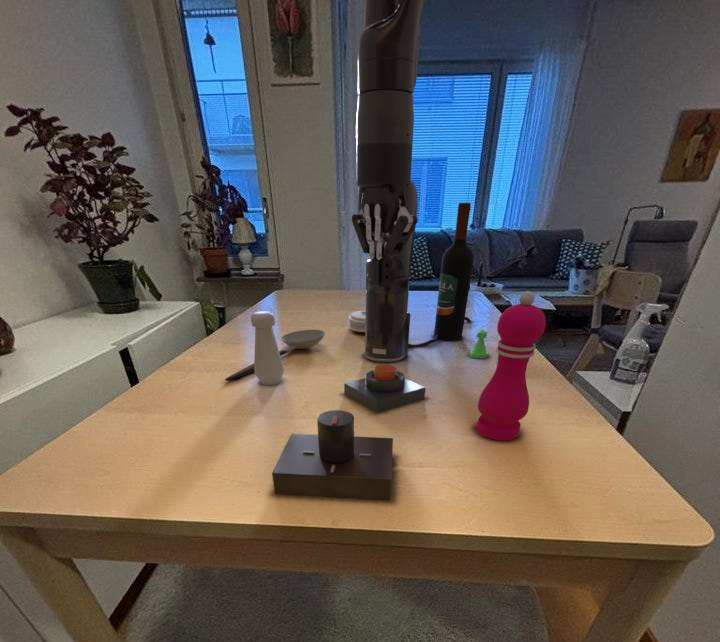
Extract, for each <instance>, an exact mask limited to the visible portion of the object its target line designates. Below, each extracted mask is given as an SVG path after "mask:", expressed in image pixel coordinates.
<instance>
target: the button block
mask: <svg viewBox="0 0 720 642" xmlns="http://www.w3.org/2000/svg"><path fill="white" fill-rule="evenodd" d="M343 387H344V388H343V389H344V391H343V392H344V395H345V396H347V397H348V398H350V399H351V400H353V401H355V402H357V403H359V405H361V406H363V407H365V408H367V409H369V410H371V411H372V412H374V413H375V414H377V413H381V412H384V411H385V412H386V411H388V410H391V409H395V408H398V407H401V406H405V405H408V404H411V403H415V402H419V401H421V400H424V399H425V398H426V397H425V396H426V386H424V385H421V384H419V383H417V382H415V381H413V380H410V379H408V378H406V376H405V374H404V373H403V372H400V371H398V370H396V379H393V380H378V379H375V378H374V370H370V371H368V372H366V373H365V374H364V378H361V379H357V380H352V381H348V382H344V383H343Z"/></svg>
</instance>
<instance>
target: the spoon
mask: <svg viewBox="0 0 720 642" xmlns="http://www.w3.org/2000/svg"><path fill="white" fill-rule="evenodd" d="M325 335H326V332H325V331H324V330H321V329H303V330H302V329H301V330H297V331H293V332H289V333H286V334H284V335H283V336H281V338H280V340H281V342H283V343H284V344H286V345H287V346H286V347H285V348H283V349H281V350H279V353H280V357H282V356H284V355H285V354H287V353H290V352H291V351H293V350H297V349H299V350H306V349H310V348H313V347H315V346H316V345H318V344H319V343H320V342H321V341H322V340H323V339H324V337H325ZM253 372H254V363H252V364H250V365H248V366H246V367H244V368H242V369H240V370H238V371H236V372H234V373H233V374H231V375H229V376H228V377H226V378H225V379H224V380H225V381H232V380H236V379H238V378H241V377H243V376H247V375H249V374H251V373H253Z"/></svg>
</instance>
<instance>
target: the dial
mask: <svg viewBox="0 0 720 642" xmlns="http://www.w3.org/2000/svg"><path fill="white" fill-rule="evenodd" d="M316 423H317V425H316V426H317V435H318V441H319V455H320V457H321V458H322V459H323V460H325V461H327V462H332V463H340V462H345V461H348V460H350V459H351V458H352V457H353V456H354V436H355V416H354V414H352V413H351V412H349V411H346V410H342V409H341V410H339V409H333V410H332V409H331V410H327V411H323V412H321V413H319V414H318V416H317V418H316Z"/></svg>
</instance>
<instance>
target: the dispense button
mask: <svg viewBox="0 0 720 642" xmlns="http://www.w3.org/2000/svg"><path fill="white" fill-rule="evenodd" d="M373 371H374V378H375V379H378V380H393V379H396V371H397V367H396V366H394V365H390V364H378V365H375V366H374V367H373Z"/></svg>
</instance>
